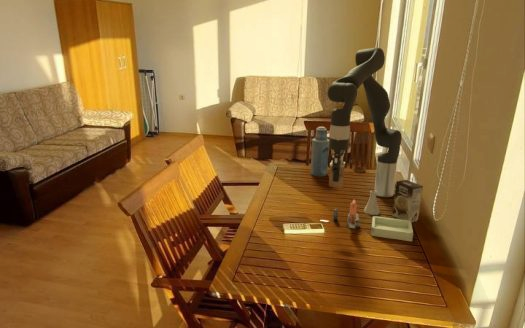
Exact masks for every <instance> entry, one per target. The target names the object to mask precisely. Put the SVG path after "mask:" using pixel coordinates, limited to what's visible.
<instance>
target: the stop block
mask: <svg viewBox="0 0 525 328" xmlns="http://www.w3.org/2000/svg"><path fill="white" fill-rule="evenodd" d="M332 161H333V160H331V161H330V163H329V176H328V177H329V178H328V180H329V181H328V187H331V188H333V187H334V188H341V189H342V188H343V185H344V180H345V165H346V161H343V162H342V165H341V167H340V172H339V181H338V182H334V181H333V172H332ZM335 169H338V167H335Z"/></svg>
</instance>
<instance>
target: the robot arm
mask: <svg viewBox="0 0 525 328" xmlns="http://www.w3.org/2000/svg"><path fill="white" fill-rule="evenodd" d="M354 58H355V67H353V68H351V69H350V70H349V71H348V72H347V73H346V74H345V75H344V76H342V77H340V78H337V79H336V80H334V81H333V82H332V83H331V84H330V85H329V86H328V88H327V97H328V100H329V101H331V102H334V103H344V105H343V106H342V107H339V108H334V109H333V110H331V114H330V116H331V117H330V127H329V138H328V139H329V150H332V151H334V152H333V153H332V155H331V157H332V159H331V161H332V172H333V181H334V182H338V181H339V172H340V167H341V165H342V162H344V156H345V153H344V151H345V152H346V151H348V150H349V149H350V136H351V135H350V133H351V114H352V111H353V107H354V104H355V102H356V99H357V96H358V90H359V88H360V87H361V85H363V90H364V93H365V97H366V101H367V106H368V108H369V112H370V116H371V119H372V120H371V121H372V124H373V130H374V137H375V138H374V139H375V141H376V144H377V145H378V146H379V147H382V148H386V149H387V152H384V153H380V154H378V155H377V160H376V162H377V163H376V171H375V180H374V191H377V194H376V197H377V196H378V197H381V198H390V197H393V196H394V193H395V185H396V175H397V174H396V173H397V167H398V166H397V164H398V159H399V157H400V156H399V155H400V151H401V145H402V138H403V137H402V131H400V130H398V129H393V128H392V129H391V128H388V127H387V126H386V123H385V120H386V118H387V115H388V113H389V111H390V109H391V103H390V99H389V94H388V92H387V90H386V89H385V87H384V86H382V85H381V84H380V83H379V82H378V81H377V80H376V79H375V78H374V77H373V75H374V74H375V73H377V72H378V71H380V70H381V69H382V68H383V66H384V65H385V61H386V60H385V58H386V56H385V52H384V50H383V49H382V48H380V47H370V48H363V49H359V50H358V51H356V53H355V57H354ZM335 167H338V169H335Z"/></svg>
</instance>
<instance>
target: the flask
mask: <svg viewBox="0 0 525 328" xmlns="http://www.w3.org/2000/svg"><path fill="white" fill-rule="evenodd" d="M369 193H370V194H369V199H368V201H367V203H366V205H365V207H364V209H363V212H364V213H365V214H366V215H369V216H370V215H371V216H379V215H380V213H381V211H380V207H379V204H378V199H377V195H376V194H377V191H374V190H370V191H369Z"/></svg>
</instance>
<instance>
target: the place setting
mask: <svg viewBox="0 0 525 328" xmlns="http://www.w3.org/2000/svg"><path fill="white" fill-rule="evenodd" d="M350 164H355V159H351V160H350ZM352 171H353V172H355V173H362V174H363V173H365V172H366V168H365V167H364V166H354V167H353V168H352Z"/></svg>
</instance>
